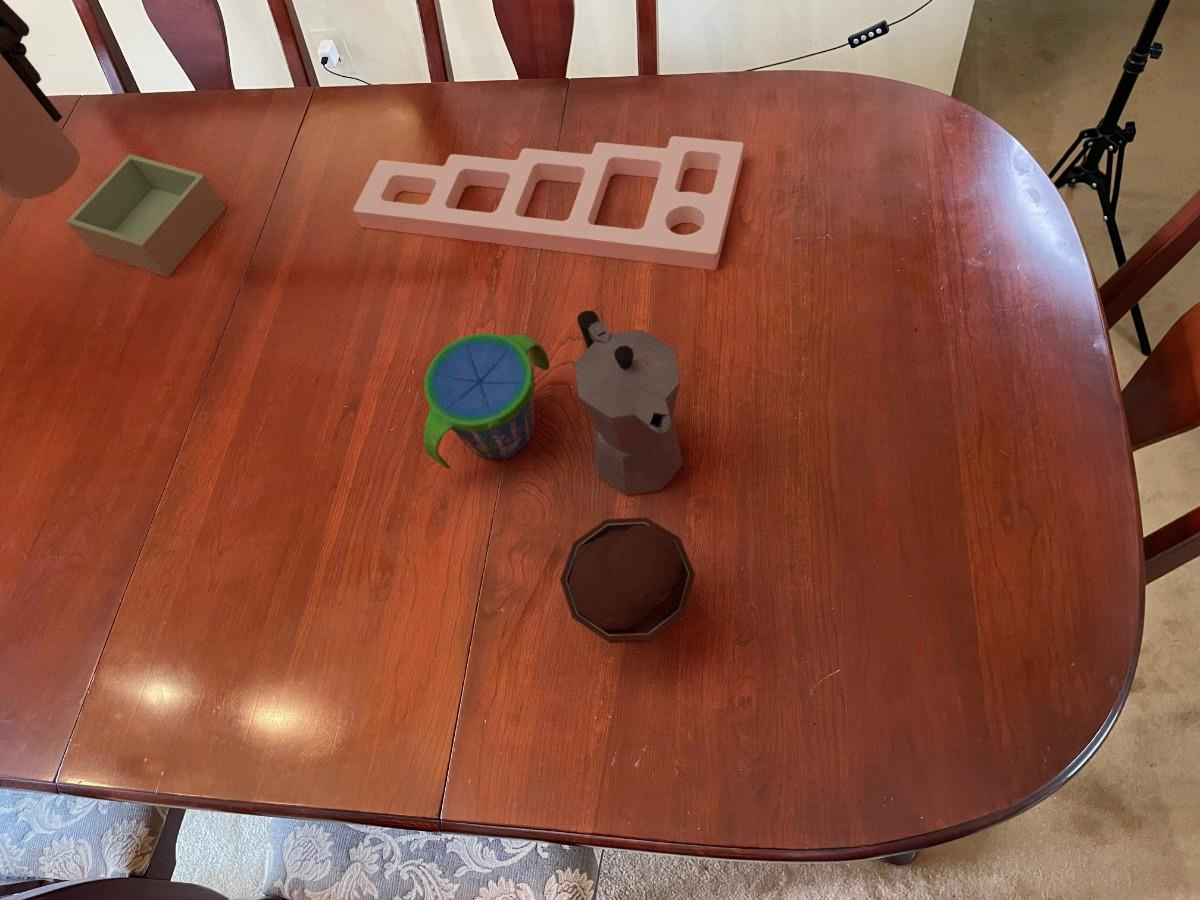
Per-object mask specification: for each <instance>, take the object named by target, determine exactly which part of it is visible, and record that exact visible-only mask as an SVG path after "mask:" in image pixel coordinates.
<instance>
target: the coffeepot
mask: <svg viewBox="0 0 1200 900" xmlns="http://www.w3.org/2000/svg"><path fill="white" fill-rule="evenodd" d="M576 321H577V323H578V326H579V329H580V332H581V334H582V337H583V341H584V342H585V346H586V350H585V351H584V352H583V353H582V355H580V357H578V358H577V360H575V362H574V369H575V377H576V388H577V389H576V390H577V398H578V399H579V401H580V403H581V405H582V407H583V408H584V411H585V412H586V414H587V416H588V418H589V420H590V422H591V423H592V425H593V427H594V429H595V434H594V435H595V436H594V445H593V446H594V455H595V465H596V475H597V477H598V478H599V479H601V480H602V481H604V482H605V483H606V484H608V485H609V486H610V487H611V488H613V489H615V490H616V491H619V492H620V493H622V494H623V495H625V496H630V495H631V496H632V495H645V494H649V493H654V492H659V491H662V490H663V489H664V488H665V487H666V485H668V484H669V482H670V481H672V479H673V478H674V477H675V476H676V473H677V472H678V471H679V470H680V469H681V468H682V467H683V465H684V464H683V463H684V462H683V456H682V452H681V446H680V445H681V444H680V439H679V434H678V431H677V429H676V426H675V423H674V421H673V417H674V416H673V415H674V411H675V407H676V403H677V398H678V394H679V390H680V384H681V382H680V381H681V380H680V376H679V370H678V365H677V358H676V353H675V352H676V351H675V348H674V347H673V346H670V345H668V344H667V343H665V342H664V341H662V340H660V339H658V338H657V337H655V336H653V335H652V334H650V333H648V332H646V331H645V330H644V329H635V330H628V331H627V330H626V331H620V332H614V333H611V332H610V330H609V329H608V328H607V326H606V324H605V323H604V322H603V320H601V321H600V319H599V316H598V315H597V313H596V312H595V311H594V310H583V311H581V312H580V313H578V315H577V319H576Z"/></svg>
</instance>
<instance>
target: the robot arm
mask: <svg viewBox="0 0 1200 900" xmlns="http://www.w3.org/2000/svg"><path fill="white" fill-rule="evenodd" d="M29 33H30V27H29V25H28V24H27V23H26V22H25V21H24V19H22V18H21V17H20V16H19V14H17V13H16V12H15V10H13V9H12V7H10V5H8V3H6V2H5V0H0V54H1V55H2V56H3V58H4V59H5V60H6V61H7V63H8V64H9V65H10V66H11V68H12V69H13V70H14V71H15V73H16V74H17V75H18V76H19V78H20V79H21V80H22V81H23V83H24V84H25V85H26V86H27V88H28V89H29V90H30V91H31V93H32V94H33V95H34V96H35V98H36V99H37V100H38V101H39V103H40V104H41V105H42V106H43V108H44V109H45V110H46V111H47V113H48V114H49V115H50V116H51V118H52V119H53V120H54V121H55V123H58V122H59V121H60V120H62V119H63V116H62V114H61V113H60V111H59V110H58V109H57V108H56V107H55V105H54V104H53V103H52V101H51V100H50V99H49V98H48V96H47V95H46V94H45V93H44V92H43V90H42V89H41V88H40V86H39V85H38V84H39V83H40V82H41V81H42V77H41V74H40V72H39V71H37V69H36V68H35V67H34V65H33V64H32V63H31V61H30V60H29V58H28V57H27V56H26V54H27V52H28V49H27V47H26V45H25V44H24V43H23V42H22V40H23V38H24V37H27V36H28V35H29Z"/></svg>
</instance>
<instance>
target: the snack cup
mask: <svg viewBox="0 0 1200 900" xmlns="http://www.w3.org/2000/svg"><path fill="white" fill-rule="evenodd" d="M528 354H529V356H528ZM531 361H532V362H531ZM533 364H534V366H536V367H537V368H539V369H541V370H543V371H548V370H549V369H550V359H549V357H548V353H547V352H546V350H545V349H544V347H543V346H542V345H541V344H540V343H539V342H537V341H536V340H534V339H533V338H531V337H530V336H527V335H525V334H521V333H518V334H517V333H516V334H511V335H510V334H509V335H507V336H504V335H501V334H497V333H490V332H482V333H474V334H469V335H466V336H463V337H461V338H459V339H456V340H454V341H452V342H450V343H449V344H447V345H446V346H445V347H443V348H442V349H441V350H440V351H439V352H438V353H437V354H436V356H435V357H434V358H432V360H431V362H430V364H429V366H428V368H427V370H426V372H425V375H424V384H423V386H424V387H423V388H424V394H425V399H426V401H427V404H428V406H429V411H428V414H427V418H426V421H425V423H424V431H423V445H424V449H425V452H426V454H427V455H428V456H429V457H430V458H432V459H433V460H434V461H435V462H437V463H438V464H439V465H441V466H442V467H444V468H445V469H447V470H450V469H451V466H450V465H449V464H448V463H447V461H445V460H444V458H443V457H442V456H441V455H440V453H439V451H438V448H439V446H440V444H441V441H442V439H443V437H444V435H445V434H447V432H449V431H450V430H451V431H452V432H453V433H455V434H456V435H457V436H458V438H459V439H460V440H461V442H463V443H464V444H465V446H466V447H467V448H468V449H469V450H471V451H472V452H473V453H474V454H475V455H477V456H481V457H484V458H487V459H494V460H497V459H502V458H503V459H506V458H507V459H509V458H510V457H513V456H514V455H515V454H517V453H518V452H519V451H520V450H522V449H524V447H525V446H526V445H527V444H528V442H529V441H530V439H531V437H532V436H533V435H534V429H535V407H534V400H533V399H534V394H533V393H534V390H535V387H536V382H535V373H534V367H533Z"/></svg>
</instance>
